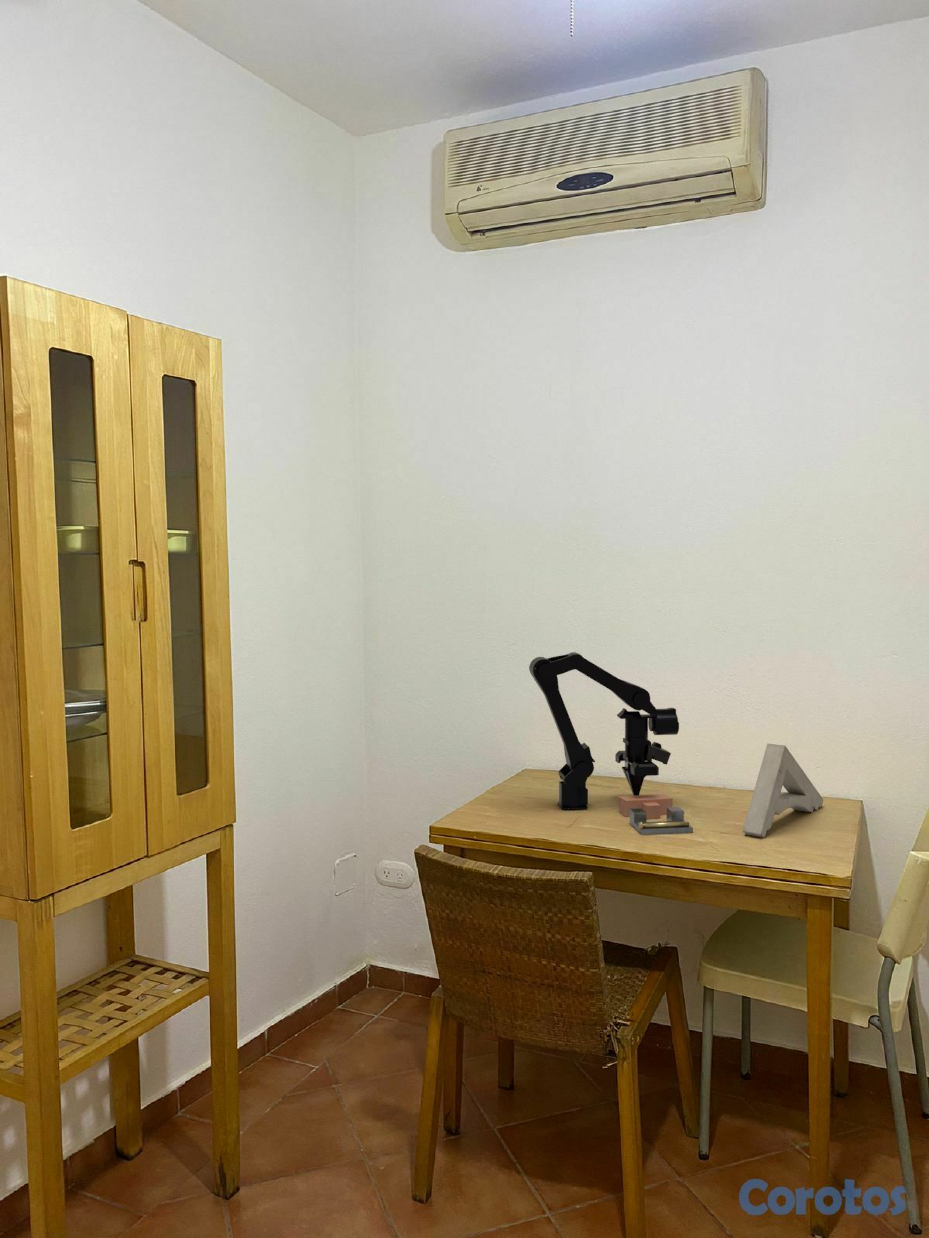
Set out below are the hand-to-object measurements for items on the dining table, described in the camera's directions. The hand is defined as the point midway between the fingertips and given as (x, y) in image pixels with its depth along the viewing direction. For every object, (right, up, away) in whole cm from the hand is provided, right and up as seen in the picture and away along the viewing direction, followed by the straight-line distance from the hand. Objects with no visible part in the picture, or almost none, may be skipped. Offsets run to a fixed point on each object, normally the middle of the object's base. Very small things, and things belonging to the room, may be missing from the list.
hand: (636, 796), depth 251 cm
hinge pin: (+2, -4, -25) cm, 25 cm away
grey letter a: (+33, -3, -15) cm, 36 cm away
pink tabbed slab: (+1, -3, -9) cm, 10 cm away
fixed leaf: (+2, -4, -22) cm, 23 cm away
